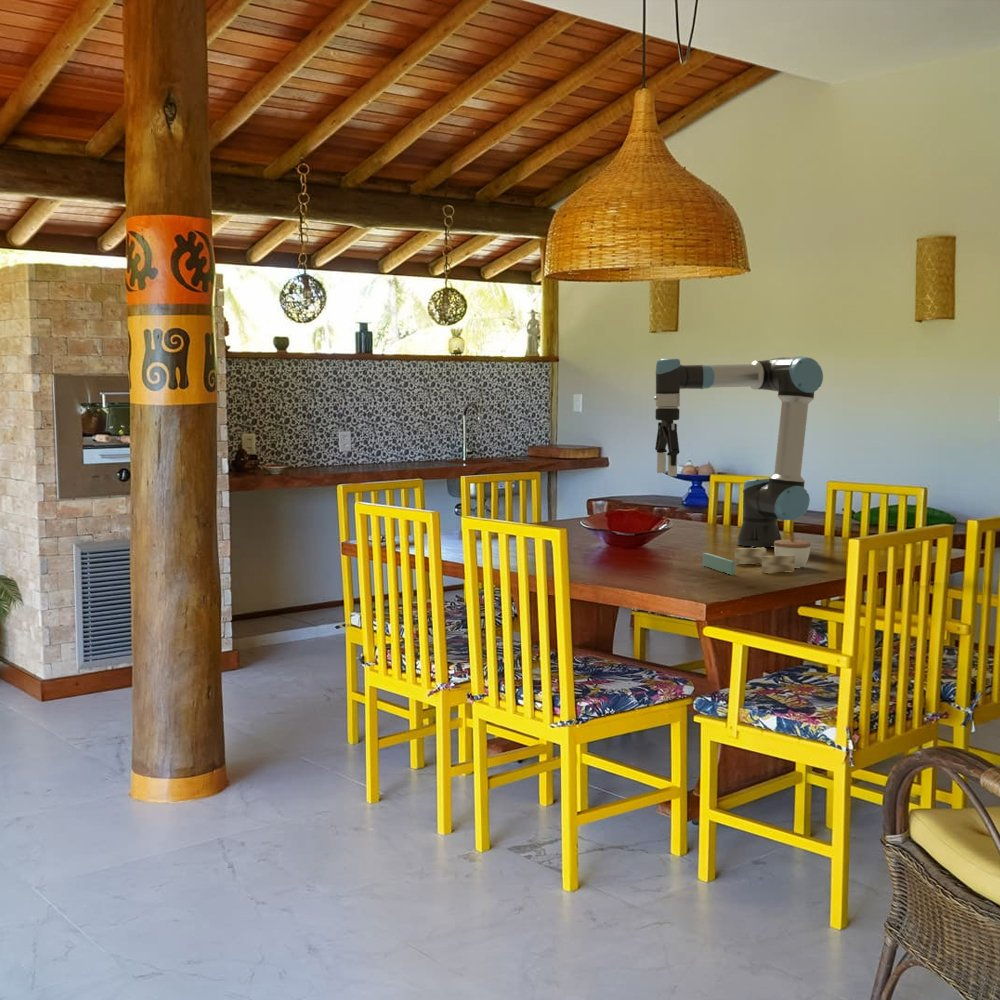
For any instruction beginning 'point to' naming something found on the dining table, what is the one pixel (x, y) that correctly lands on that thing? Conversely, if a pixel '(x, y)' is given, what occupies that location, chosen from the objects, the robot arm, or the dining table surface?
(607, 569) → the dining table surface
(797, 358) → the robot arm
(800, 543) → the lidded jar
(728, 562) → the bar
